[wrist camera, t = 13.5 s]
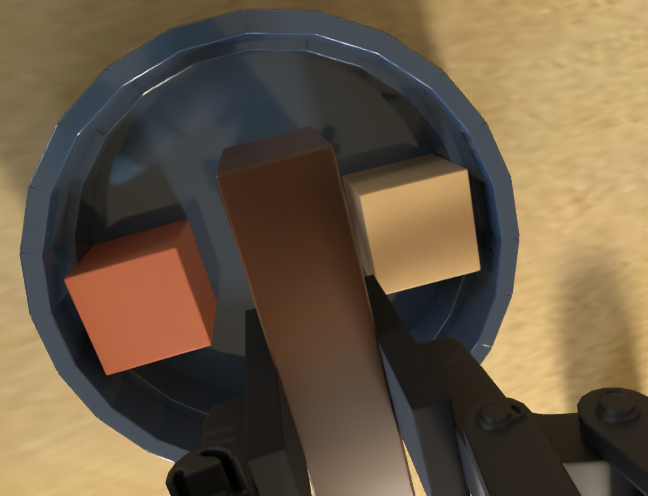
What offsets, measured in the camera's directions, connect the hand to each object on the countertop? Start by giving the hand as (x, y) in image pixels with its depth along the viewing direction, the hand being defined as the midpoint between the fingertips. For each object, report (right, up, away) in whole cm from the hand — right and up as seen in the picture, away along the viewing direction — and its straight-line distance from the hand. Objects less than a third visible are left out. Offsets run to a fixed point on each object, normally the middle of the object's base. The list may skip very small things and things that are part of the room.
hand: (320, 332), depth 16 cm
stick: (0, 0, 0) cm, 0 cm away
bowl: (-2, +3, +11) cm, 11 cm away
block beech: (+4, +4, +10) cm, 12 cm away
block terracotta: (-8, +1, +10) cm, 13 cm away
